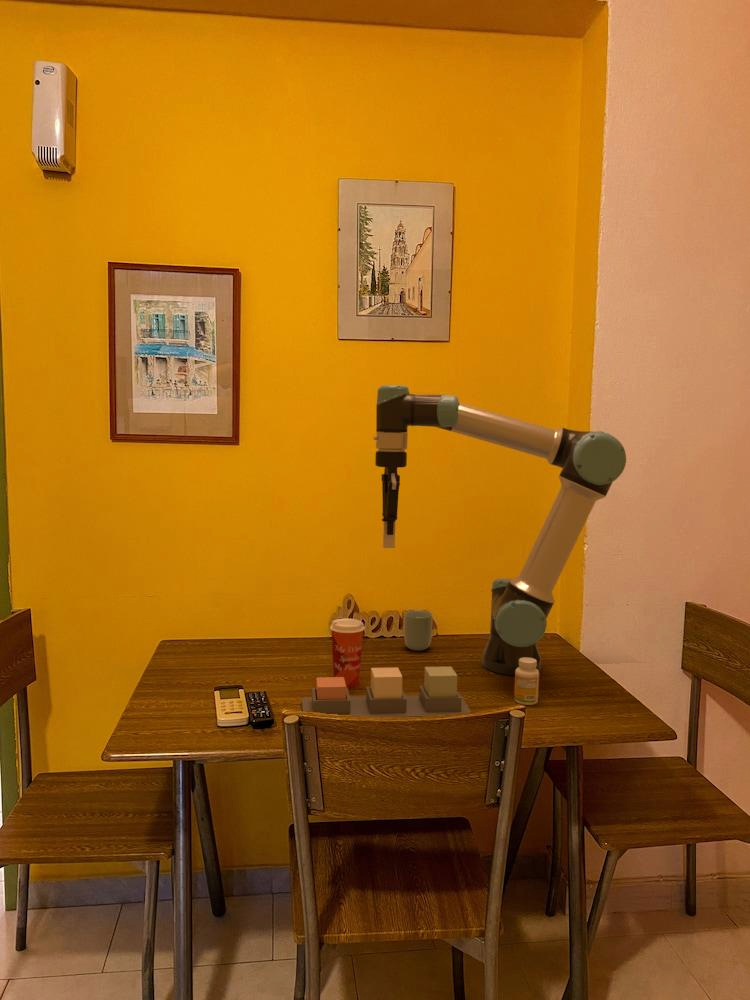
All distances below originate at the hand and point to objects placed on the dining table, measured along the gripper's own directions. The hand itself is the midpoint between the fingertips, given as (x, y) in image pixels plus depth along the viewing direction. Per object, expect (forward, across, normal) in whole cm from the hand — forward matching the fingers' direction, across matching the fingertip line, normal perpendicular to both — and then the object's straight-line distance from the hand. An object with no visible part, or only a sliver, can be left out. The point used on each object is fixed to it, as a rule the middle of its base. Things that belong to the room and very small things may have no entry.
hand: (388, 547), depth 181 cm
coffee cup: (+33, +4, -10) cm, 34 cm away
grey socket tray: (+32, +22, -3) cm, 39 cm away
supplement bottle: (+33, +18, +30) cm, 48 cm away
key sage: (+29, +22, +9) cm, 37 cm away
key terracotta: (+31, +22, -15) cm, 41 cm away
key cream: (+29, +22, -3) cm, 36 cm away
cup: (+33, -22, +12) cm, 41 cm away
